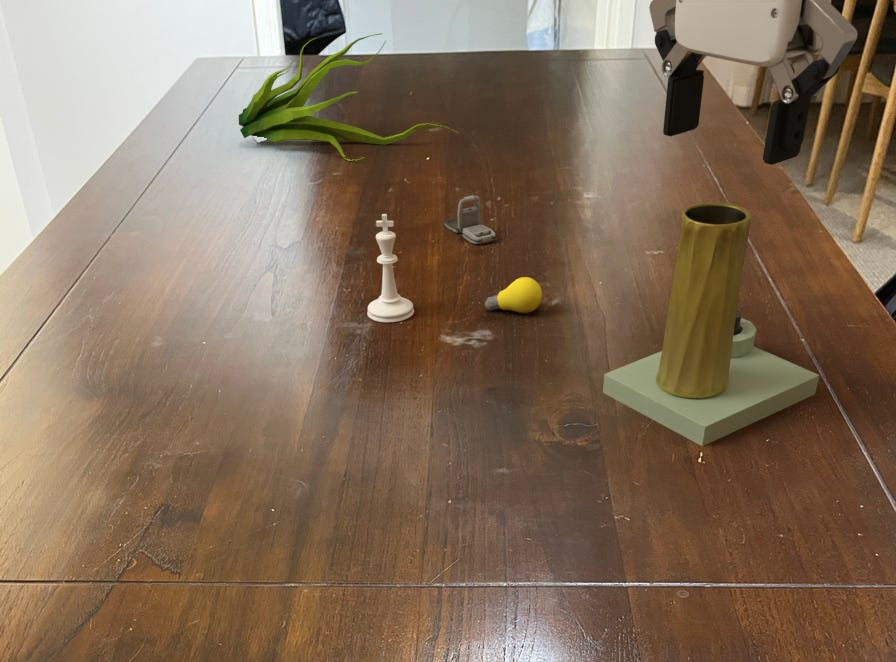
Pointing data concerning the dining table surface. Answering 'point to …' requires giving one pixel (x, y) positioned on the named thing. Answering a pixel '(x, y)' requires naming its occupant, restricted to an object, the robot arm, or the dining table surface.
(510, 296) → the light bulb
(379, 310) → the chess piece
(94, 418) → the dining table surface
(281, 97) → the decorative plant
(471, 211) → the strap clip
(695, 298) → the vase
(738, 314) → the button
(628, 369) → the green mounting base
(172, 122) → the dining table surface
